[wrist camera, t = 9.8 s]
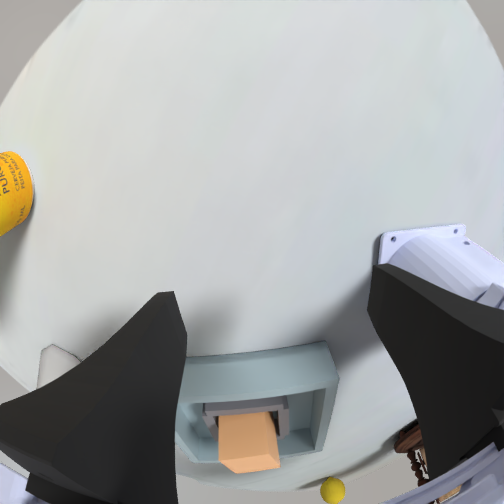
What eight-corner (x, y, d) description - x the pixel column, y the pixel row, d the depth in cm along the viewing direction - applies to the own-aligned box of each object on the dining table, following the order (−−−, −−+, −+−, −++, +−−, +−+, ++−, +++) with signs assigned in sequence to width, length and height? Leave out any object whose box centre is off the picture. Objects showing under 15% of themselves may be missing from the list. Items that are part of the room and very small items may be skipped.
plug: (261, 392, 24) (268, 453, 18) (272, 412, 26) (280, 467, 20) (218, 400, 25) (218, 460, 18) (234, 420, 27) (236, 473, 20)
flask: (103, 372, 24) (76, 449, 15) (84, 393, 26) (61, 457, 17) (48, 333, 22) (7, 404, 13) (37, 360, 24) (6, 421, 15)
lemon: (326, 474, 43) (332, 503, 36) (345, 471, 44) (353, 499, 37) (313, 481, 45) (318, 508, 38) (332, 479, 46) (338, 505, 39)
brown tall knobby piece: (455, 390, 33) (499, 472, 15) (453, 414, 39) (486, 478, 21) (385, 434, 36) (417, 522, 18) (397, 448, 42) (421, 517, 23)
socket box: (325, 340, 23) (339, 378, 19) (315, 423, 30) (322, 451, 26) (151, 358, 23) (141, 395, 19) (194, 434, 30) (192, 462, 26)
